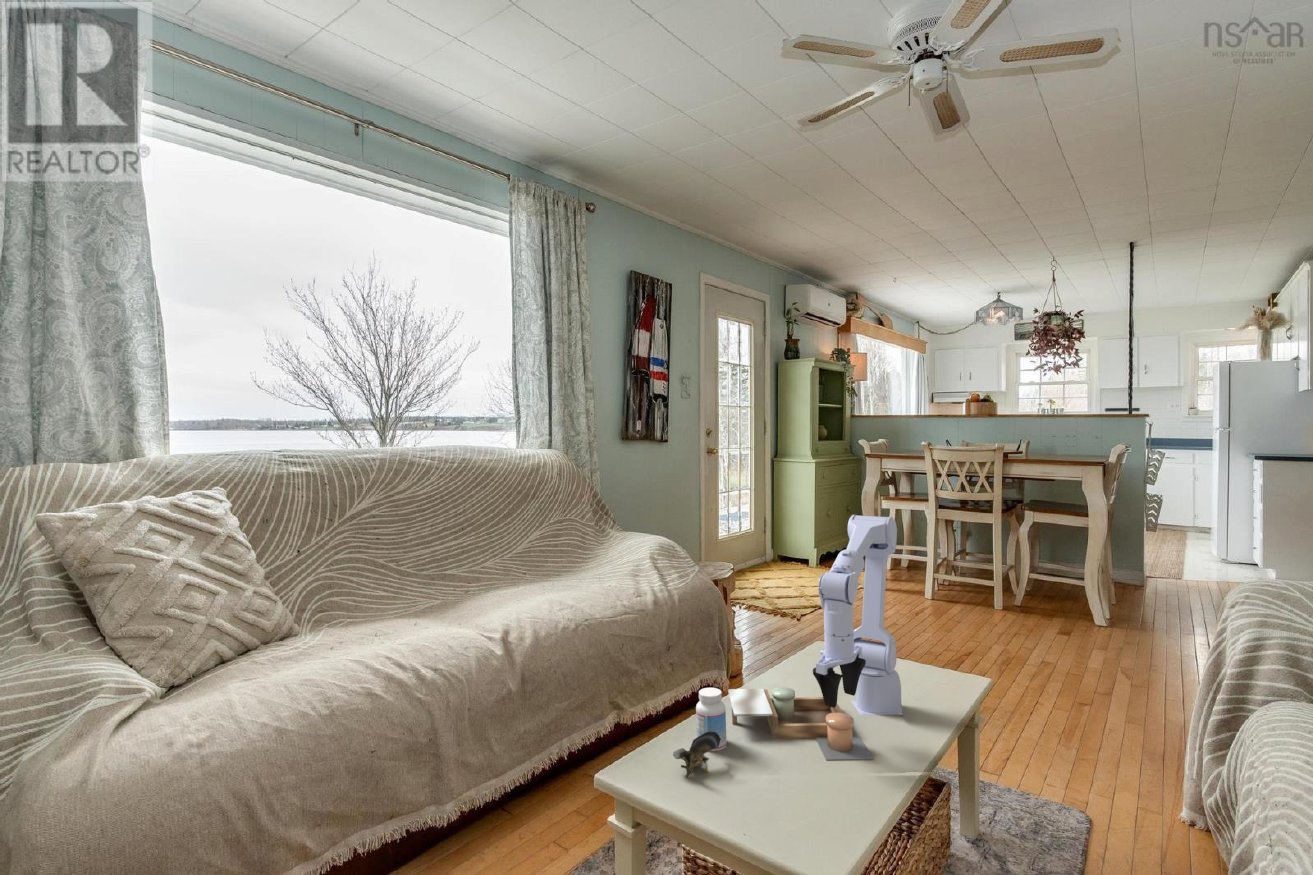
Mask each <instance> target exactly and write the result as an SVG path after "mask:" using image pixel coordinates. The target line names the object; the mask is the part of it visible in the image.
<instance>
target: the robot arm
mask: <svg viewBox="0 0 1313 875" xmlns="http://www.w3.org/2000/svg"><path fill="white" fill-rule="evenodd" d="M897 535H898V527H897V522H896V520H895V518H894V517H893V516H869V515H857V514H852V515H851V516H850V517H849V519H848V523H847V536H848V538H849V540H848V544H847V547H846V549H843V550H841V551H840V552H839V553H838V554H837V557H836V558H835V560H834V562H833V564H832V566H831V568H830V569H829V571H825V573H822V574H821V575H820V578H819V581H818V588H817V589H818V590H817V591H818V596H819V598H820V607H821V609H822V610H823V630H824V631H823V633H824V637H823V638H824V649H821V650H820V651H819V654H820V655H821V657H820V659H819V660H818V661H816V662H815V667H814V668H812V675H813V676H814V678H815V679H816V681H817V684H818V685H819V688H820V692H821V694H822V697H823V699H824V702H825V705H827V706H830V707H833V708H835V707H836V704H838V694H839V693H838V692H839V686H840V682H841V681H842V689H843V691H844V694H846V695H849V696H855V697H856V698H855V699H851V700H850V702H851V704H852V705H853V706H854V707H855V709H856V710H857V712H858V714H859V715H861V716H873V715H877V716H878V715H879V716H883V715H899V716H900V717H903V715H904V714H903V712H902V710H903V709H902V684H901V678H900V676H899V673H898V671H897V670H896V665H897V654H898V653H897V649H896V648H897V646H896V645H897V644H896V638H895V637H894V636H893V635H892V633H890V632H889V630H887V629H886V628H885V627H884V622H885V619H884V618H885V605H886V604H885V602H886V587H887V586H886V584H887V582H886V580H887V567H888V566H887V564H888V559H889V556H891V555H893V554H896V548H897V537H898V536H897ZM864 557H865V559H864ZM863 570H864V581H863V582H864V583H863V596H862V597H863V599H862V614H861V615H862V616H861V625H860V626H859V627H857V628H855V629H854V626H855V625H854V604H855V601H856V599H857V595H858V588H859V579H860V577H861V574H862V572H863ZM867 639H869V640H867ZM873 640H874V641H873ZM879 641H880V642H879ZM838 666H839V669H840V672H841V673H837V672H836V671H835V670H834V668H836V667H838Z"/></svg>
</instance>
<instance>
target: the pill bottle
mask: <svg viewBox="0 0 1313 875" xmlns="http://www.w3.org/2000/svg"><path fill="white" fill-rule="evenodd" d="M722 695H723V694H722V690H721V689H719V688H716V687H704V688H701V689H700V690H699V691H698V700H699V701H698V702H697V703H696V706H695V715H696V716H695V718H696V719H695V722H696V738H697V737H698V736H700V735H702V734H704V733H706V732H716V733H717V734H718V735H719V737H720V738H721V740H720V743H719V746H718V747H717V748H715V749H712V750H711V751H710V752H716V751H717V752H718V751H721V750H723V749H725V748H726V746H727V716H726V714H727V712H726V705H725V703H724V702H723V701H722V699H723V696H722Z"/></svg>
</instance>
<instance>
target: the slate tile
mask: <svg viewBox="0 0 1313 875" xmlns="http://www.w3.org/2000/svg"><path fill="white" fill-rule="evenodd" d="M814 738H815V741H816V743H817V745H818V746H819V749H820V751H821V752H822V755H823V757H824V759H825V761H828V762H829V761H873V760H874V758H873V756H872V755H871V753H870V752H869V749H868V748H867V747H866V745H865V744H864V742H863V741H862V739H861V737H860V736H858V735H857V736H852V744H853V748H852V749H851V750H850V751H847V752H839V751H835V750H832V749H830V748H829V747H828V737H814Z"/></svg>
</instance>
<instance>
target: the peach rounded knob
mask: <svg viewBox="0 0 1313 875" xmlns="http://www.w3.org/2000/svg"><path fill="white" fill-rule="evenodd" d="M854 721H855V720H854V717H852V716H851V715H849V714H847V713H844V712H843V713H830V714H828V715H826V724H827V735H828V747H829V748H830V749H832V750H835V751H839V752H847V751H850V750H851V749H852V748H853V744H852V737H853V727H854V724H855V722H854Z"/></svg>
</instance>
